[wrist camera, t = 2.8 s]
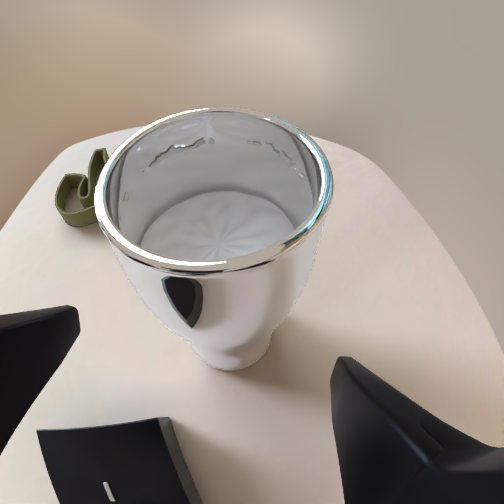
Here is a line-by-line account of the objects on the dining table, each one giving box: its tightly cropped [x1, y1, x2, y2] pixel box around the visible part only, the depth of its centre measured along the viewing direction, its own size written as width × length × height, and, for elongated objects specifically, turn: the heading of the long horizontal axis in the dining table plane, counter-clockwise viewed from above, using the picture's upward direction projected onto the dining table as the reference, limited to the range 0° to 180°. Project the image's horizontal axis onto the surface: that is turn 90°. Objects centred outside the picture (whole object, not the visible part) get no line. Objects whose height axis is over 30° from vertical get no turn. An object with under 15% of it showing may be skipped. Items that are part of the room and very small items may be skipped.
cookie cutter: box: [55, 148, 109, 227], centre depth 26 cm, size 18×12×2 cm, turn 83°
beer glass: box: [94, 107, 334, 370], centre depth 13 cm, size 7×7×15 cm
